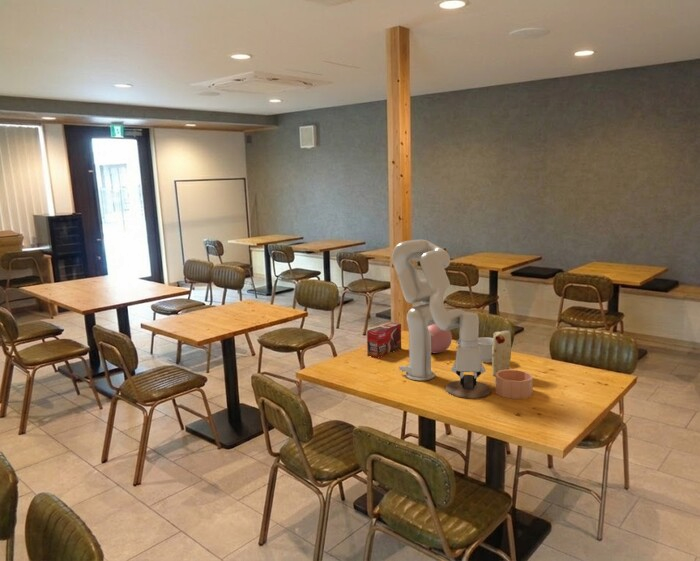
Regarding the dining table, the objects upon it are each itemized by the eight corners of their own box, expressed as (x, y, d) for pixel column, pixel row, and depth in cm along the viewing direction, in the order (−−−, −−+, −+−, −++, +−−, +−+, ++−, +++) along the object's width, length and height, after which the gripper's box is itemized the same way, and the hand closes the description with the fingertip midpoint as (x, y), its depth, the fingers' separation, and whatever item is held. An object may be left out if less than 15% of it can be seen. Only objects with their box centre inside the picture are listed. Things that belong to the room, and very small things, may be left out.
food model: (499, 379, 233) (500, 334, 230) (487, 375, 239) (488, 331, 235) (514, 374, 239) (515, 330, 235) (502, 370, 244) (503, 327, 241)
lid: (445, 397, 215) (445, 383, 214) (445, 381, 232) (445, 368, 231) (492, 399, 212) (493, 384, 211) (489, 383, 229) (489, 369, 228)
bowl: (497, 397, 213) (497, 380, 212) (494, 385, 227) (494, 369, 226) (534, 399, 211) (535, 382, 210) (529, 386, 224) (529, 370, 223)
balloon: (407, 354, 272) (407, 324, 269) (435, 346, 284) (435, 317, 281) (430, 361, 260) (430, 329, 257) (458, 352, 272) (458, 322, 270)
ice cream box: (391, 346, 285) (391, 322, 283) (401, 349, 281) (401, 323, 279) (367, 356, 270) (366, 330, 268) (377, 358, 266) (376, 332, 264)
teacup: (476, 354, 269) (476, 334, 267) (504, 360, 258) (504, 340, 257) (463, 360, 260) (463, 340, 258) (491, 366, 250) (491, 345, 248)
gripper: (447, 345, 216) (447, 389, 219) (490, 346, 213) (489, 390, 216) (447, 340, 224) (447, 382, 227) (489, 341, 221) (488, 384, 224)
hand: (468, 386), depth 221 cm, fingers closed on lid, 3 cm apart
